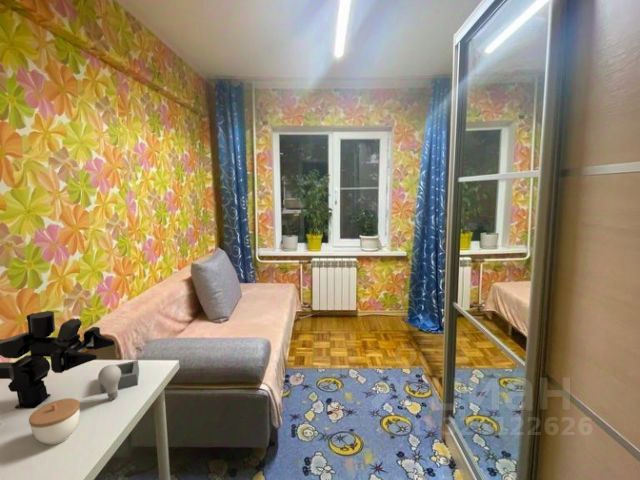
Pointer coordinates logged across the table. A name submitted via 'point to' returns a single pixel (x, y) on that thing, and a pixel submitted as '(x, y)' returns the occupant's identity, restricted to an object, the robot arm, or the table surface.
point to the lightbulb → (110, 379)
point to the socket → (126, 375)
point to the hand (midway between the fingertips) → (105, 349)
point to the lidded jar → (55, 421)
